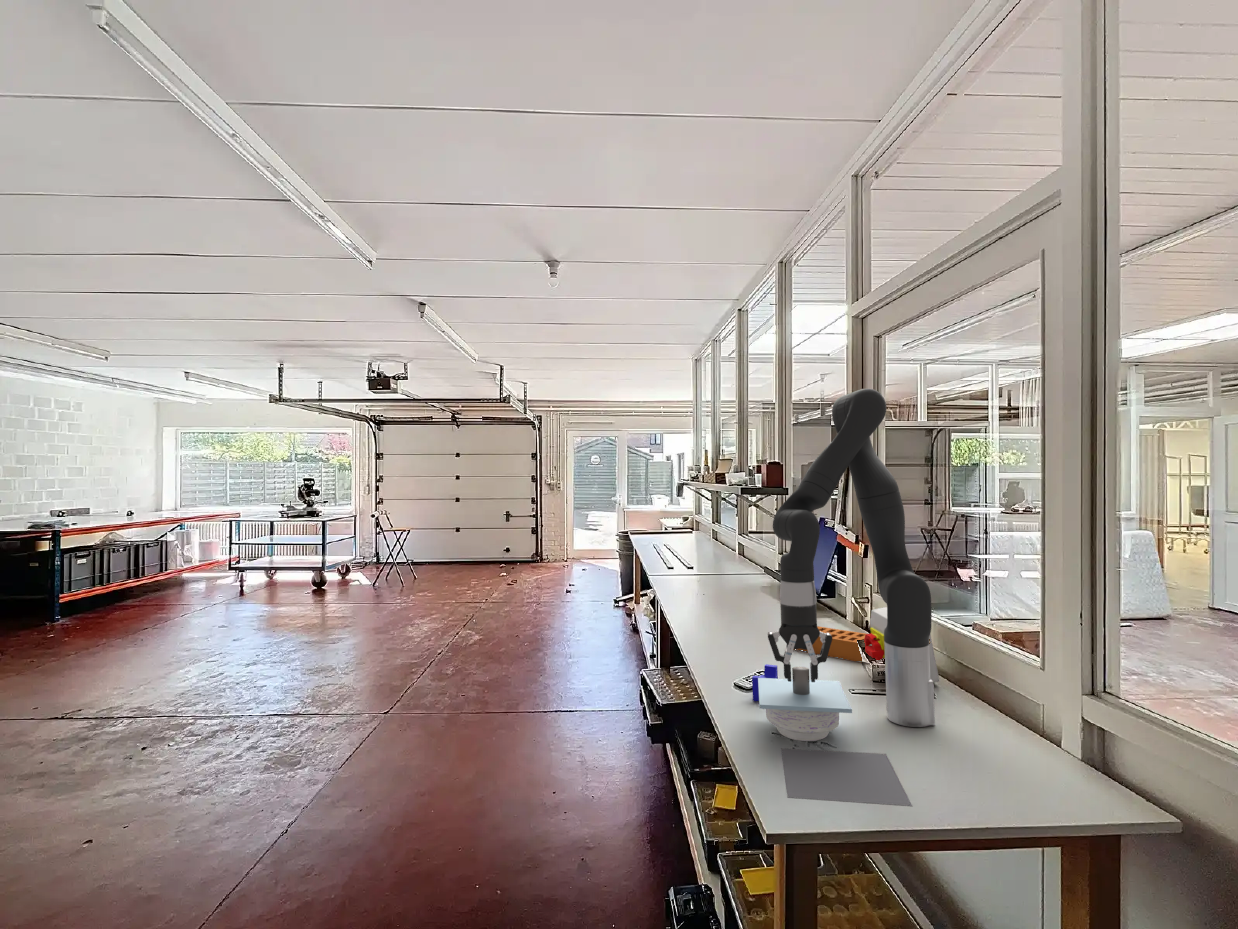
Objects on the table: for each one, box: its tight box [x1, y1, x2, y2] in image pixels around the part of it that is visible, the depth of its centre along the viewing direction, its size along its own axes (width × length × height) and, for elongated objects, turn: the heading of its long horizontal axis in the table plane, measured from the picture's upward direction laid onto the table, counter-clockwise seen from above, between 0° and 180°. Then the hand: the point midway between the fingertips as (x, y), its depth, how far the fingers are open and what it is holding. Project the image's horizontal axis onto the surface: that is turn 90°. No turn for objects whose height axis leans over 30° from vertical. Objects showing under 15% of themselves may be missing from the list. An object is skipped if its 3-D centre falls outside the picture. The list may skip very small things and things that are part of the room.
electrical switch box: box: [864, 606, 940, 683], centre depth 171 cm, size 15×15×20 cm
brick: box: [793, 625, 867, 662], centre depth 197 cm, size 25×12×6 cm, turn 46°
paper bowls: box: [765, 709, 840, 742], centre depth 136 cm, size 15×15×8 cm
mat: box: [780, 747, 913, 807], centre depth 116 cm, size 20×20×1 cm
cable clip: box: [751, 663, 779, 702], centre depth 162 cm, size 12×4×6 cm, turn 150°
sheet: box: [758, 666, 853, 714], centre depth 136 cm, size 18×18×6 cm
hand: (800, 680), depth 136 cm, fingers open, 4 cm apart
